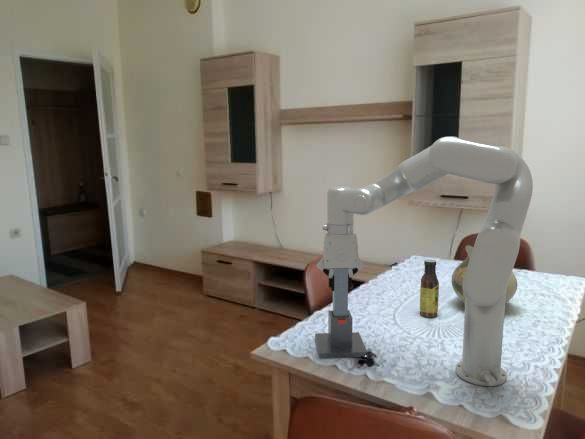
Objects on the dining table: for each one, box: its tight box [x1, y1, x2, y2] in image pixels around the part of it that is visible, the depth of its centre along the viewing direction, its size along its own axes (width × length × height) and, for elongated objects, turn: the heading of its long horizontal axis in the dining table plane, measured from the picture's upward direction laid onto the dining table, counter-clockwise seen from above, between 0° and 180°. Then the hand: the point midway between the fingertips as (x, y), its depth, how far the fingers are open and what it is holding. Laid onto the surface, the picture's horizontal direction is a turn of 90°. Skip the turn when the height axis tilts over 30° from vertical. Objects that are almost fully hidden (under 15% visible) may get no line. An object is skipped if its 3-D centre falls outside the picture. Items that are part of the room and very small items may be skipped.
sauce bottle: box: [419, 259, 440, 318], centre depth 165 cm, size 6×6×20 cm
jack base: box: [314, 309, 368, 359], centre depth 141 cm, size 14×14×10 cm
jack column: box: [331, 269, 349, 317], centre depth 139 cm, size 4×4×22 cm
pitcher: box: [451, 243, 518, 307], centre depth 172 cm, size 22×24×25 cm
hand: (340, 289), depth 139 cm, fingers closed on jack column, 4 cm apart
